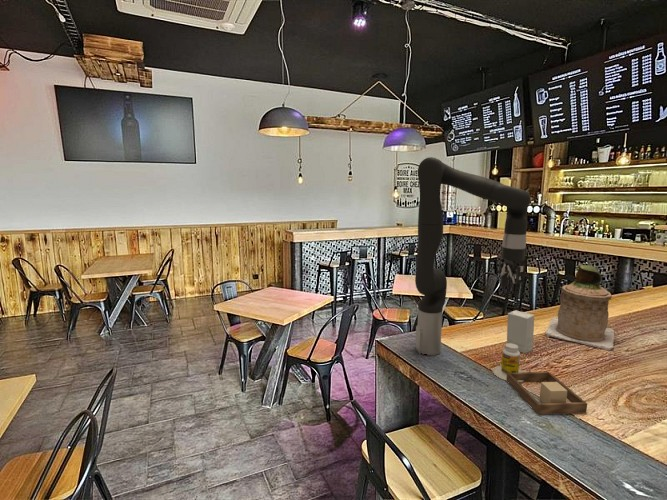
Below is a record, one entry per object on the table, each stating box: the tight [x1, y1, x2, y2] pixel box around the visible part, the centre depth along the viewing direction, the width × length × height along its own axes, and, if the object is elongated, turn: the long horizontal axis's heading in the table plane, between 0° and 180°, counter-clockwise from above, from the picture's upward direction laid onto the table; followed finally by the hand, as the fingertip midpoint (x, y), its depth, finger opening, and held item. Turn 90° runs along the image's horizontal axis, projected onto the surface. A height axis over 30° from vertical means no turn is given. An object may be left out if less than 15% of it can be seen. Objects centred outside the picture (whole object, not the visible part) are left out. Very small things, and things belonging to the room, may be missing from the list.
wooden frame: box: [506, 371, 588, 415], centre depth 119 cm, size 15×19×3 cm
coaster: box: [492, 364, 525, 384], centre depth 133 cm, size 11×11×1 cm
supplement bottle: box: [500, 342, 521, 375], centre depth 132 cm, size 6×6×10 cm
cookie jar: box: [544, 263, 615, 351], centre depth 163 cm, size 25×25×32 cm
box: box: [538, 381, 567, 403], centre depth 115 cm, size 5×5×6 cm
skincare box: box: [506, 310, 535, 354], centre depth 152 cm, size 8×6×15 cm
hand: (509, 289), depth 137 cm, fingers open, 8 cm apart
